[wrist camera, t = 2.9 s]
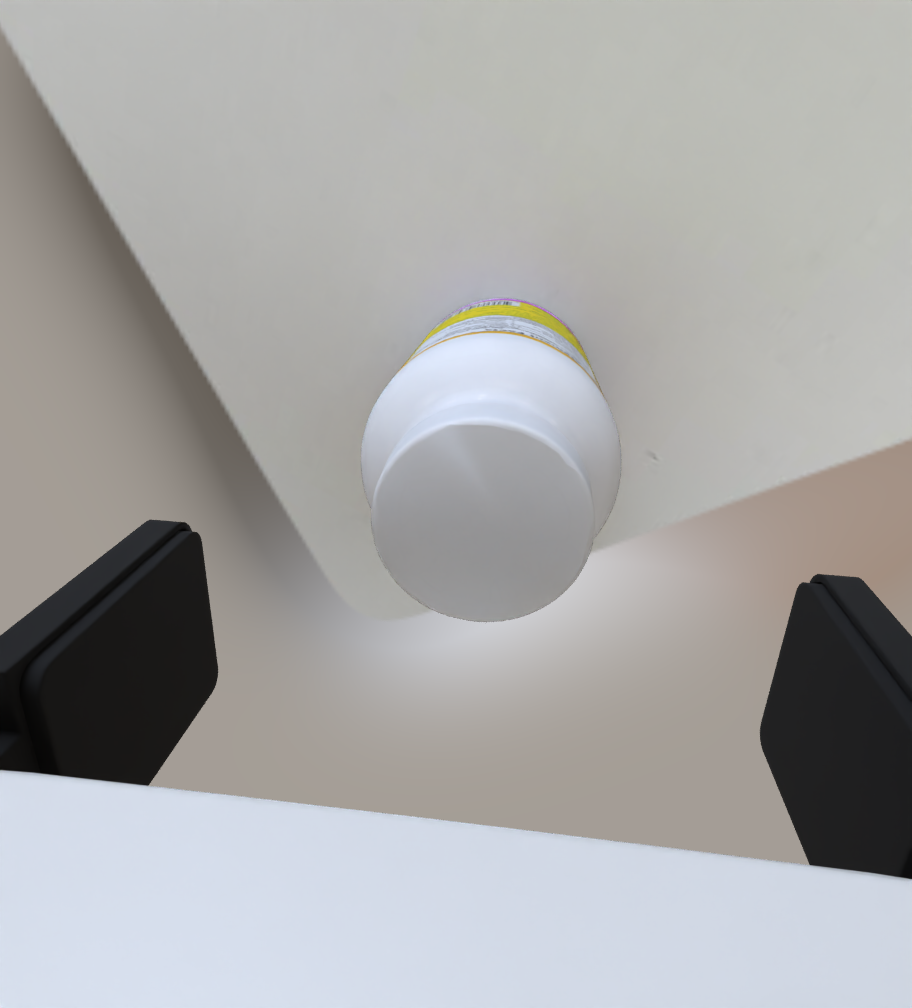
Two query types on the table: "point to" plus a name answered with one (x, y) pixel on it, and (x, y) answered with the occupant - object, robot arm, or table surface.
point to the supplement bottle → (490, 463)
